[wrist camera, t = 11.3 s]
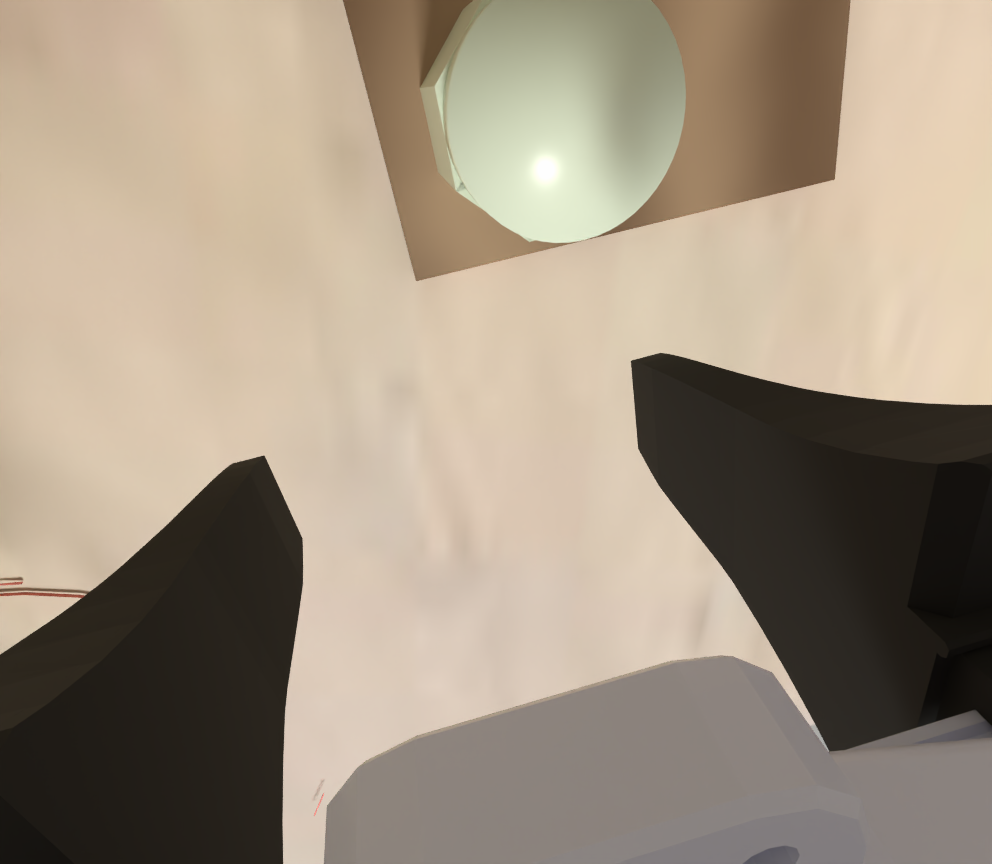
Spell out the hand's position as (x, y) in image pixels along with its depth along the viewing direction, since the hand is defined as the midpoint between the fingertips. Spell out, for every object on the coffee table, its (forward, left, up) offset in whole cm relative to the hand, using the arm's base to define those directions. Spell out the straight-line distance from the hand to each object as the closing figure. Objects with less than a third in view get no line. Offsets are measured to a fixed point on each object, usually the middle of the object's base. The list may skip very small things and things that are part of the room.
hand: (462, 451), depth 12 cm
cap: (-4, -5, -9) cm, 11 cm away
